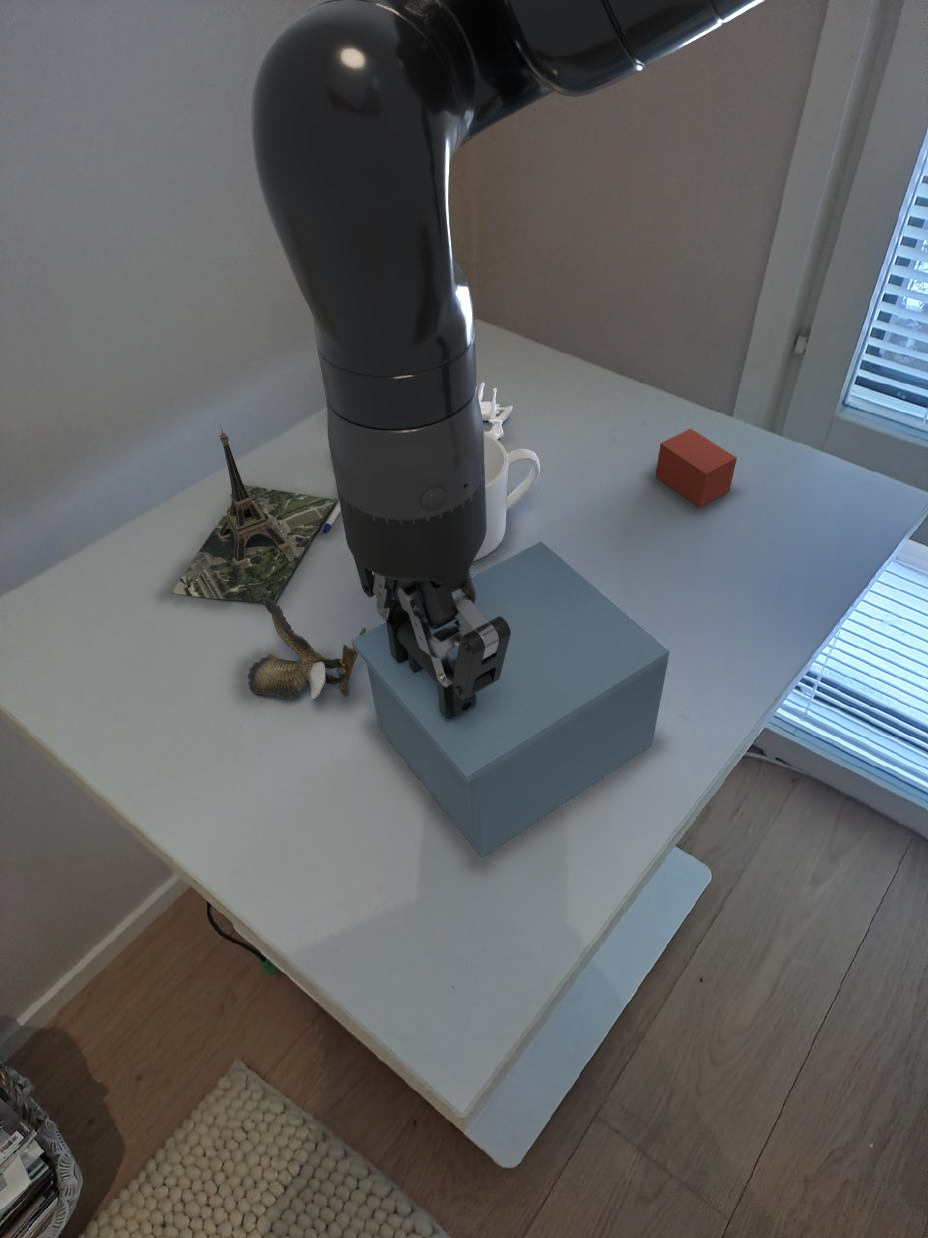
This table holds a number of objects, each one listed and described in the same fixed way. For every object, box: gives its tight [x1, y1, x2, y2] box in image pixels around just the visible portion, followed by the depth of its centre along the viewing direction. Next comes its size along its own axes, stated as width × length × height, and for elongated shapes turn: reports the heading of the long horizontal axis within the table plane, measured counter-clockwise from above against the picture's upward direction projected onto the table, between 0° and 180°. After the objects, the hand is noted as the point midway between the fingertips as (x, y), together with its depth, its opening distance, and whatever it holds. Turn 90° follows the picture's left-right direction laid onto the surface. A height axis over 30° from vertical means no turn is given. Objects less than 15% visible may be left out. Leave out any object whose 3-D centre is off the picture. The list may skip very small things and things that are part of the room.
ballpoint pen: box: [322, 501, 341, 534], centre depth 88 cm, size 10×1×1 cm, turn 165°
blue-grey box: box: [366, 658, 669, 858], centre depth 64 cm, size 16×14×10 cm
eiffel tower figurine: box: [171, 423, 337, 604], centre depth 79 cm, size 15×10×13 cm
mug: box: [472, 431, 541, 563], centre depth 81 cm, size 13×10×8 cm
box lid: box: [351, 541, 670, 783], centre depth 59 cm, size 16×14×5 cm
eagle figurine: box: [247, 597, 367, 700], centre depth 70 cm, size 8×7×9 cm
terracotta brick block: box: [655, 428, 738, 508], centre depth 86 cm, size 6×4×4 cm, turn 35°
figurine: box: [477, 381, 514, 441], centre depth 94 cm, size 3×8×8 cm
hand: (432, 680), depth 57 cm, fingers closed on box lid, 5 cm apart
